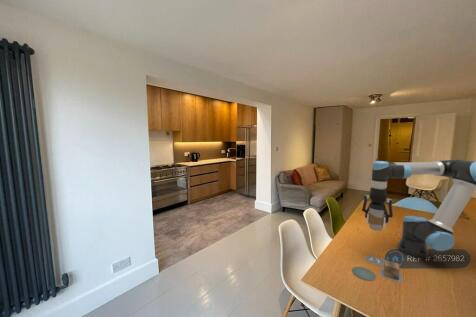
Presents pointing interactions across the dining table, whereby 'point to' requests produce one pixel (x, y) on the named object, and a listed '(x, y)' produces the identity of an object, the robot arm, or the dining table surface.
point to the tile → (375, 260)
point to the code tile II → (391, 278)
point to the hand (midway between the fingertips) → (375, 225)
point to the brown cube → (391, 269)
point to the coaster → (363, 273)
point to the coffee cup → (376, 216)
